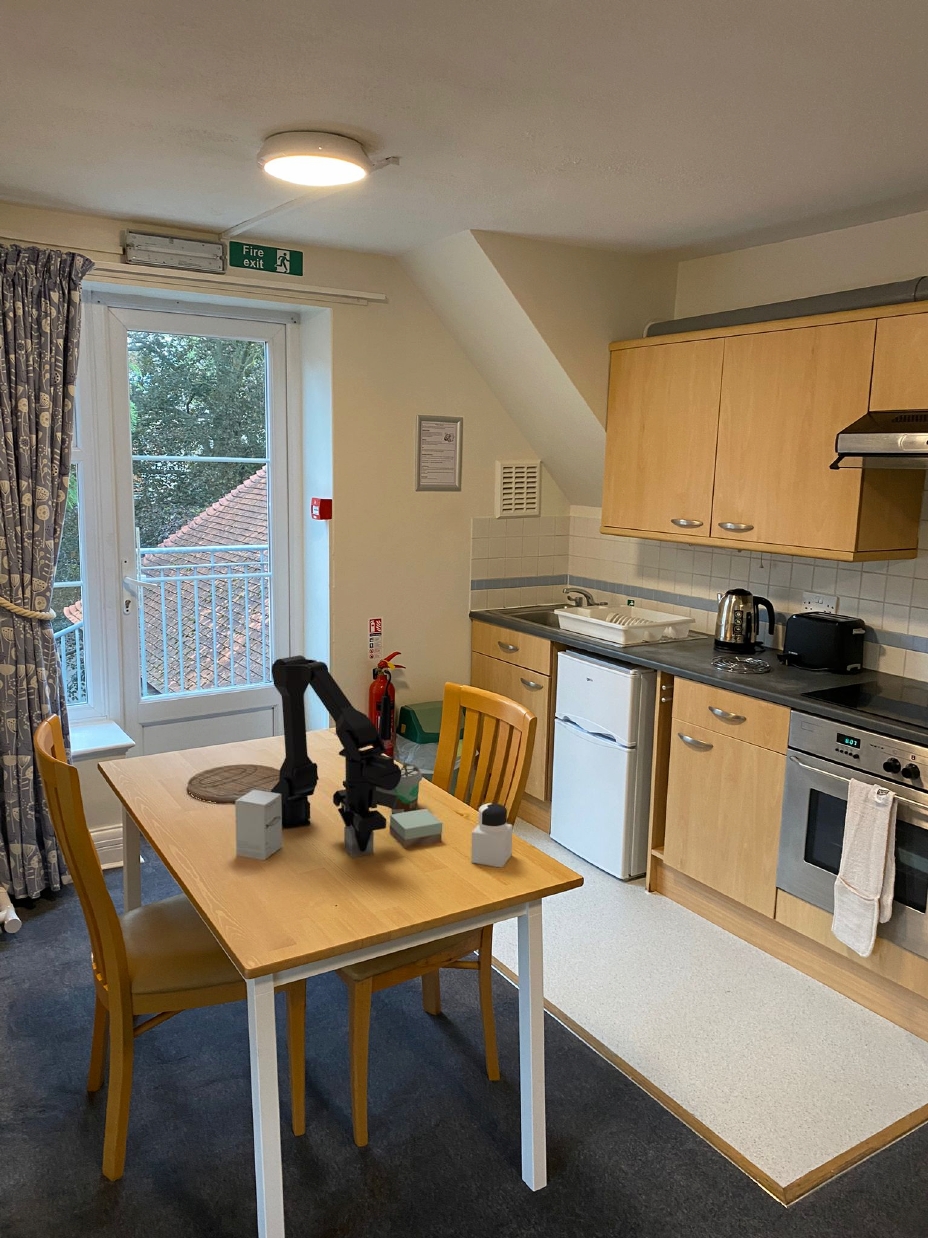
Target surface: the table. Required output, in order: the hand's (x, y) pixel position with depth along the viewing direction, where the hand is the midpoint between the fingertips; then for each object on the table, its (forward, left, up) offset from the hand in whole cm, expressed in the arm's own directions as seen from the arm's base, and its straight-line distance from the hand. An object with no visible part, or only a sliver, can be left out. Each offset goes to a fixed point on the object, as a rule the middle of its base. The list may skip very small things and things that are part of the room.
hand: (358, 846), depth 204 cm
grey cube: (0, 0, -1) cm, 1 cm away
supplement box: (-20, +8, -1) cm, 22 cm away
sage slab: (+14, +2, +1) cm, 14 cm away
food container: (+19, +18, -1) cm, 26 cm away
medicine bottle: (+25, -15, -1) cm, 29 cm away
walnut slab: (+14, +2, -2) cm, 14 cm away
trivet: (-16, +50, -2) cm, 53 cm away
